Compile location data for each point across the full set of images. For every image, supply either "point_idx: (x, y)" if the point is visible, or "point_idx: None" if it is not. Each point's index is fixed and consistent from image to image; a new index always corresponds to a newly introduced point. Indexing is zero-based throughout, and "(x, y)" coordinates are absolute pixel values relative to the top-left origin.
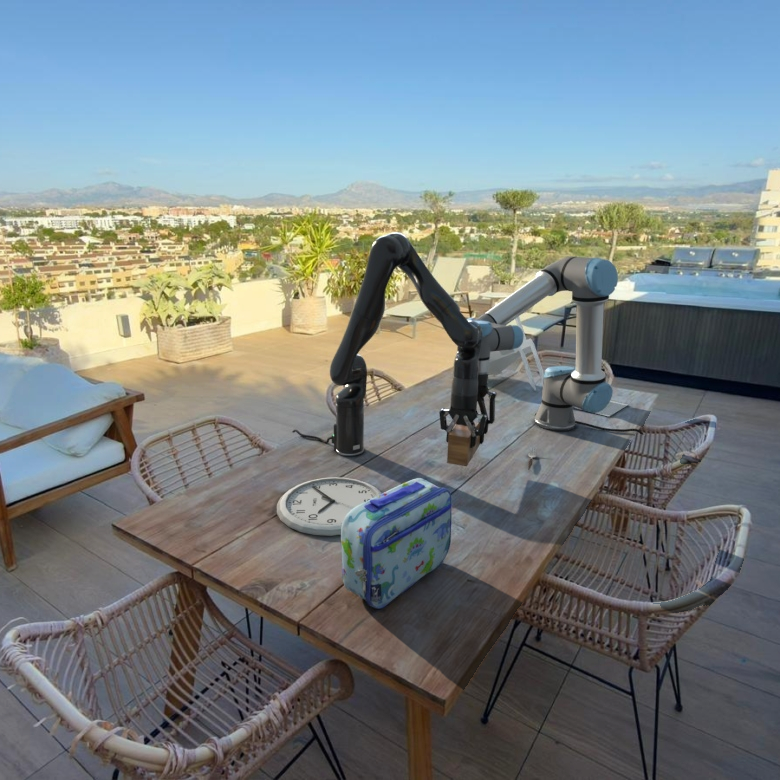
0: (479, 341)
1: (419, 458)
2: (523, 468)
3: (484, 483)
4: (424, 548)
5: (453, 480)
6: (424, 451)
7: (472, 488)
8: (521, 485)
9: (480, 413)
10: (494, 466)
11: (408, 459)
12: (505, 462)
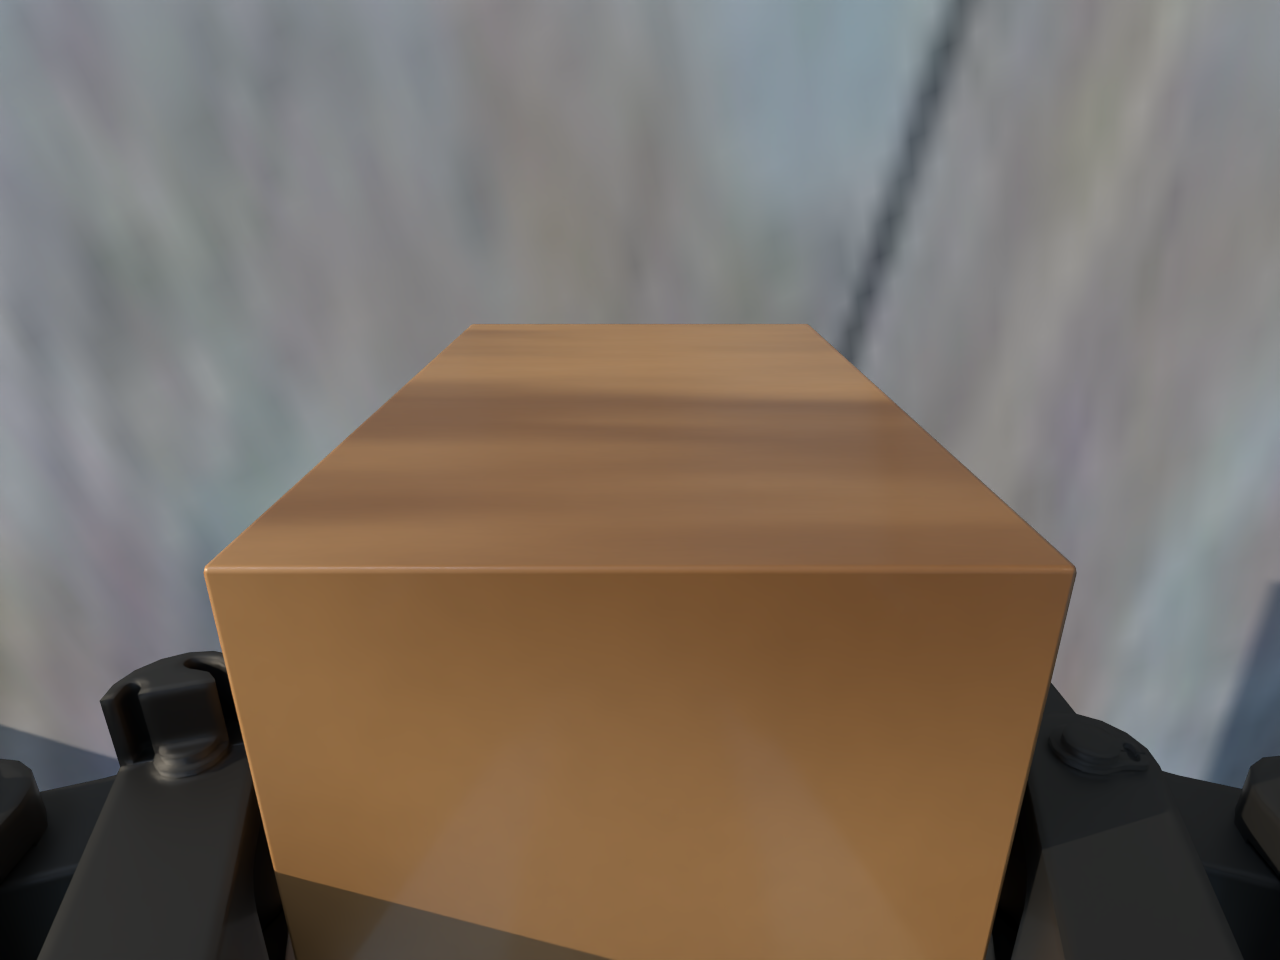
0: None
1: (102, 542)
2: (1271, 329)
3: None
4: None
5: None
6: (34, 340)
7: None
8: (1194, 700)
9: (872, 616)
10: (928, 412)
11: (21, 607)
12: (1059, 244)
